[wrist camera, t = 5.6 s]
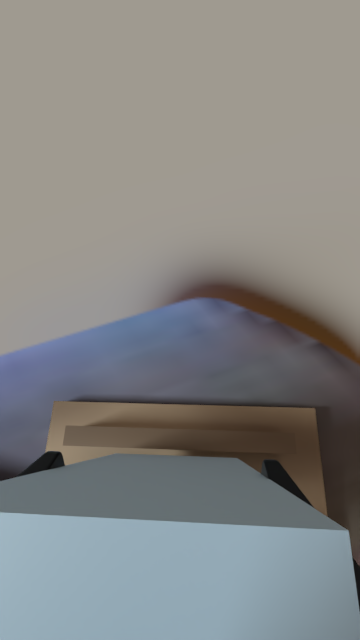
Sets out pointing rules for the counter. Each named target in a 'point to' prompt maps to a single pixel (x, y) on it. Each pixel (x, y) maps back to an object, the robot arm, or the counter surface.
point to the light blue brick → (169, 555)
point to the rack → (194, 436)
